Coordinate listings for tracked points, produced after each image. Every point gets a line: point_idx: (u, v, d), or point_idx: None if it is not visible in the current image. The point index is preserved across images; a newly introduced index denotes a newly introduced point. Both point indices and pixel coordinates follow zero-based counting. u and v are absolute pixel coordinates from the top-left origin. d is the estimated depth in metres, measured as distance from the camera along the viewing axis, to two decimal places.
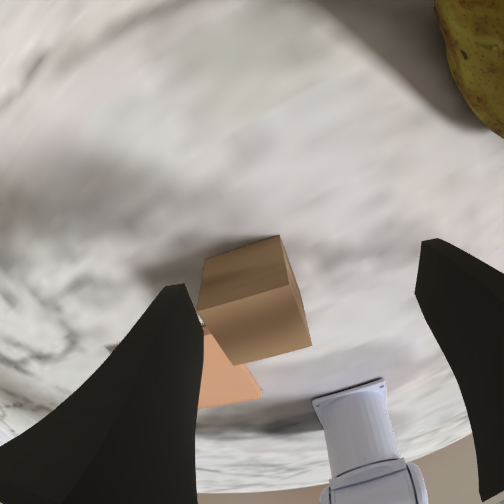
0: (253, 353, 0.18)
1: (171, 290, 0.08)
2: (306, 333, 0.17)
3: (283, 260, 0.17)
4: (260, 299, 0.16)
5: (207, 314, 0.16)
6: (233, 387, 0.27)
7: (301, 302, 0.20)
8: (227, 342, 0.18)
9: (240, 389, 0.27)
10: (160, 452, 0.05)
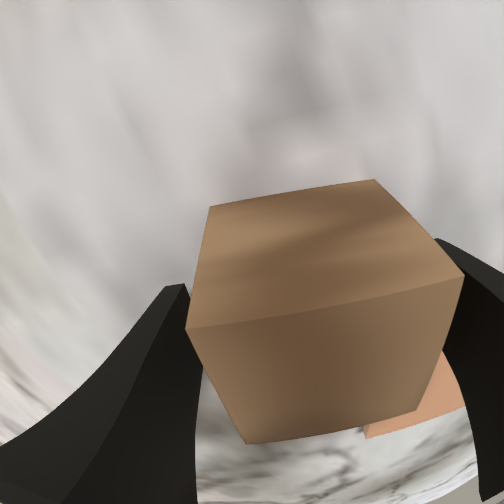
0: (404, 389, 0.07)
1: (171, 290, 0.08)
2: (409, 291, 0.05)
3: (199, 260, 0.07)
4: (228, 381, 0.06)
5: (256, 437, 0.07)
6: None
7: (371, 208, 0.07)
8: (345, 421, 0.07)
9: None
10: (160, 452, 0.05)
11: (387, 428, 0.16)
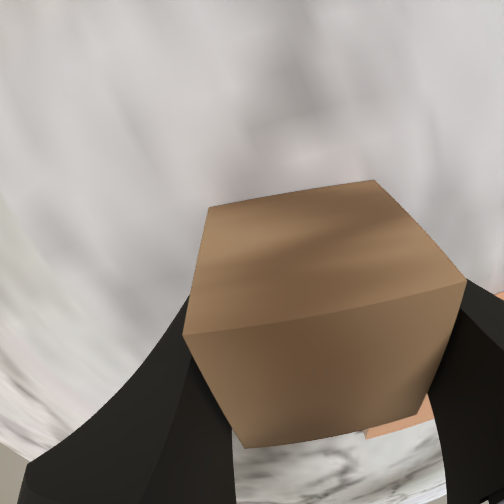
0: (404, 394, 0.06)
1: None
2: (410, 297, 0.05)
3: (197, 264, 0.07)
4: (227, 386, 0.06)
5: (255, 442, 0.07)
6: None
7: (372, 210, 0.07)
8: (345, 426, 0.07)
9: None
10: (208, 452, 0.05)
11: (387, 428, 0.16)
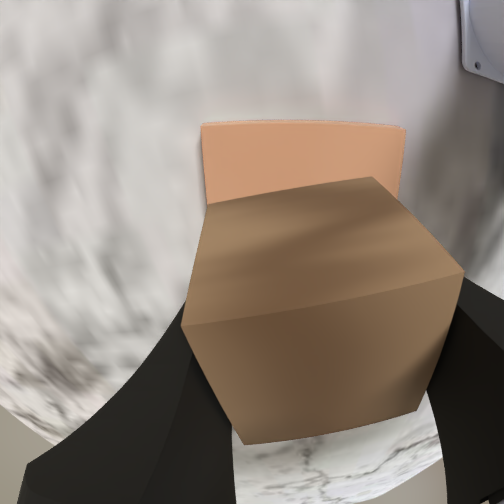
0: (404, 389, 0.06)
1: None
2: (408, 287, 0.05)
3: (196, 258, 0.07)
4: (225, 379, 0.06)
5: (254, 438, 0.07)
6: (354, 160, 0.14)
7: (369, 205, 0.07)
8: (345, 422, 0.07)
9: (366, 152, 0.14)
10: (208, 452, 0.05)
11: None
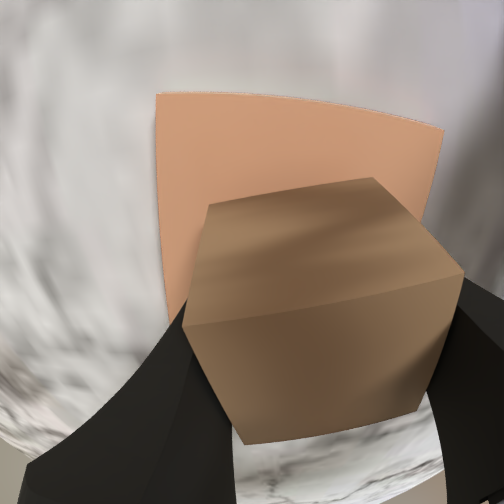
0: (404, 389, 0.06)
1: None
2: (408, 288, 0.05)
3: (197, 259, 0.07)
4: (226, 379, 0.06)
5: (254, 438, 0.07)
6: (372, 163, 0.10)
7: (370, 206, 0.07)
8: (345, 422, 0.07)
9: (390, 154, 0.10)
10: (208, 452, 0.05)
11: None
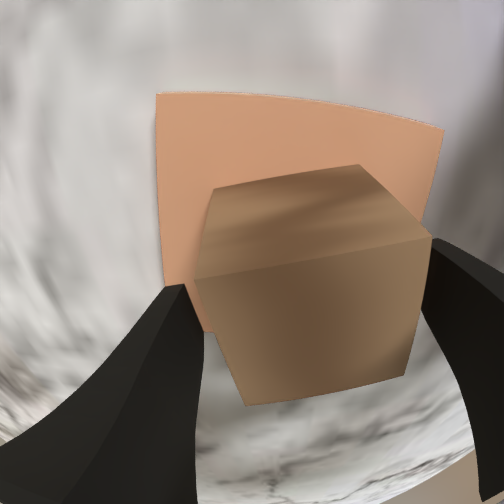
0: (389, 349, 0.08)
1: (171, 289, 0.08)
2: (382, 248, 0.06)
3: (205, 231, 0.08)
4: (229, 332, 0.07)
5: (255, 397, 0.09)
6: (373, 162, 0.10)
7: (354, 187, 0.08)
8: (337, 382, 0.08)
9: (390, 153, 0.10)
10: (160, 452, 0.05)
11: (198, 317, 0.14)
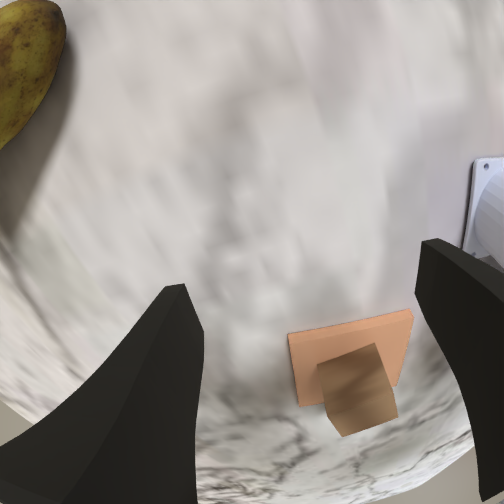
0: (388, 413, 0.21)
1: (171, 290, 0.08)
2: (377, 399, 0.19)
3: None
4: (336, 422, 0.21)
5: (345, 434, 0.22)
6: (380, 339, 0.23)
7: (371, 364, 0.22)
8: (372, 424, 0.21)
9: (388, 334, 0.23)
10: (160, 452, 0.05)
11: (312, 400, 0.27)
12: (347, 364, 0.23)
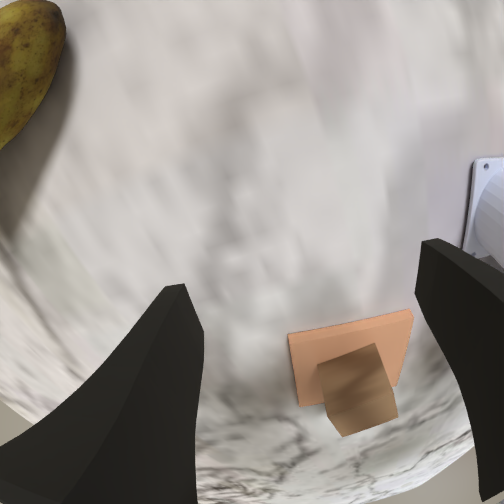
0: (388, 413, 0.21)
1: (171, 289, 0.08)
2: (377, 399, 0.19)
3: (323, 393, 0.22)
4: (337, 422, 0.21)
5: (345, 434, 0.22)
6: (380, 340, 0.23)
7: (372, 364, 0.22)
8: (372, 424, 0.21)
9: (388, 334, 0.23)
10: (160, 452, 0.05)
11: (312, 400, 0.27)
12: (347, 364, 0.23)
